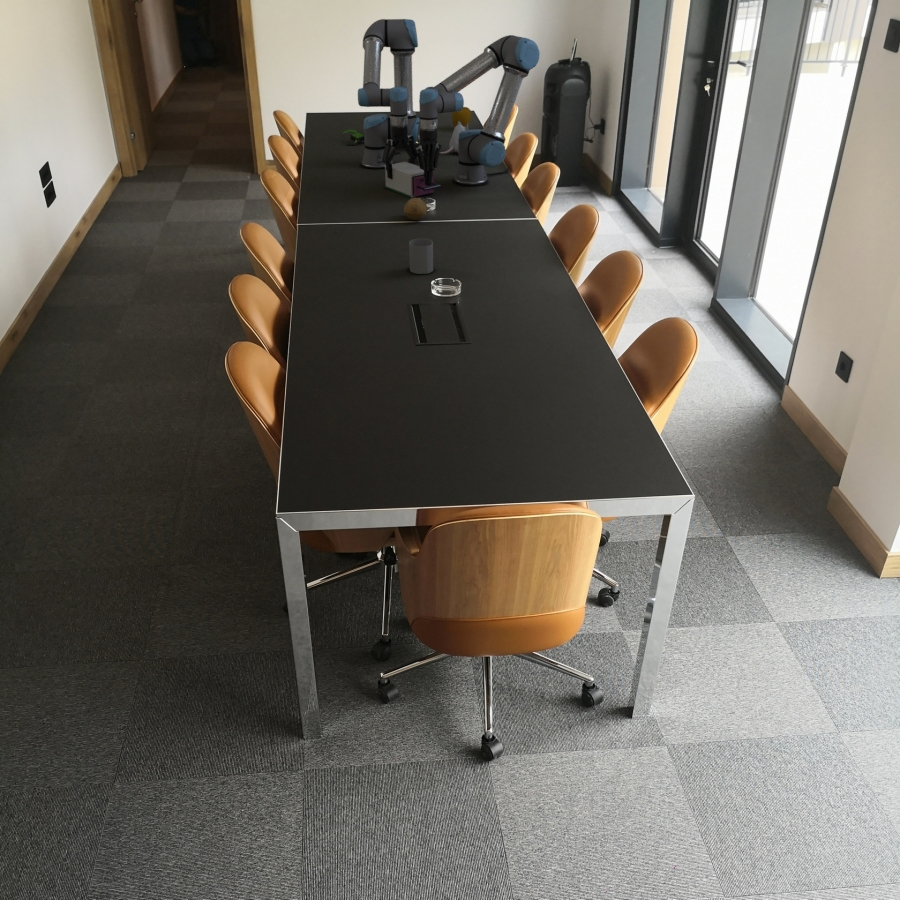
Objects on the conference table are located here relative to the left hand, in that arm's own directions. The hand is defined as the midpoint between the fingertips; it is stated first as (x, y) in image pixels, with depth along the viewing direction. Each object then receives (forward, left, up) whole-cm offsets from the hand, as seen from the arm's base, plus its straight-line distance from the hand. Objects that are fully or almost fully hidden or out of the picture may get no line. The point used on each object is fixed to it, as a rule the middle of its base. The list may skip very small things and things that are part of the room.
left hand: (400, 175), depth 392 cm
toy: (-62, -14, -5) cm, 64 cm away
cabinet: (+1, +5, -5) cm, 8 cm away
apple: (-110, -41, -5) cm, 118 cm away
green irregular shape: (-58, -66, -5) cm, 88 cm away
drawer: (+3, +11, -4) cm, 12 cm away
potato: (+33, +32, -5) cm, 47 cm away
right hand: (+6, +20, 0) cm, 21 cm away
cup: (+78, +68, -5) cm, 104 cm away
